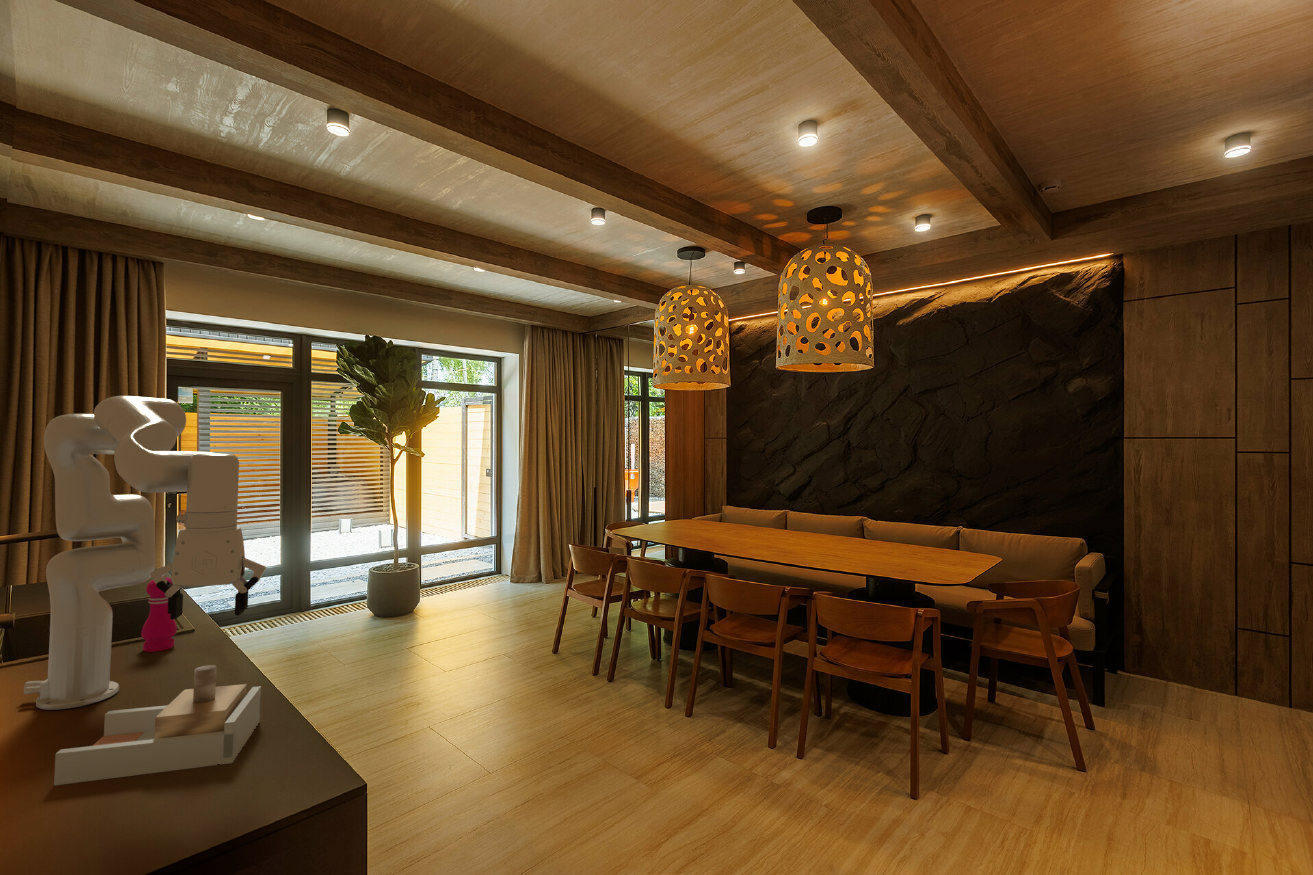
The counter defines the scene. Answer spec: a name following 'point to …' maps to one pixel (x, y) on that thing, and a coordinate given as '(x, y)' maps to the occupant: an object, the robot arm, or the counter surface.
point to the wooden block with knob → (199, 707)
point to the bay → (155, 745)
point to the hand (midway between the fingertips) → (208, 615)
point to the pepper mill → (158, 621)
